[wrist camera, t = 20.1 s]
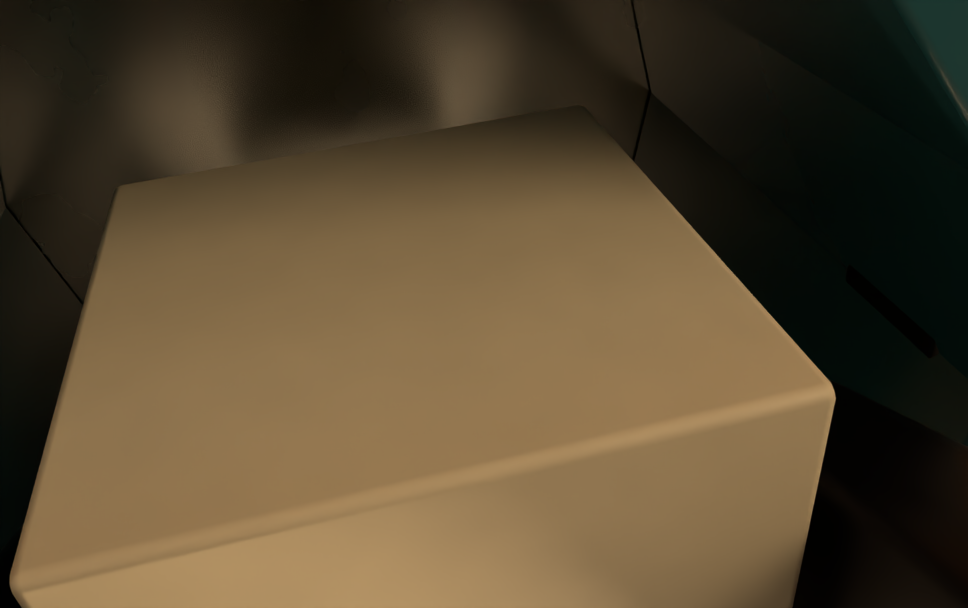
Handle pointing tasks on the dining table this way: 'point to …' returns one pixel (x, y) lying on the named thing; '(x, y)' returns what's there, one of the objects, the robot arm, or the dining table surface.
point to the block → (423, 392)
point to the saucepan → (505, 93)
